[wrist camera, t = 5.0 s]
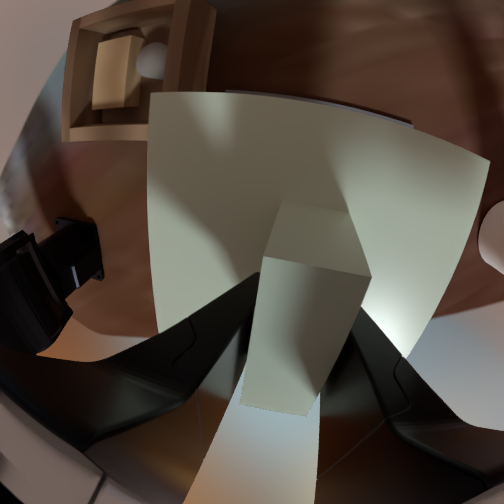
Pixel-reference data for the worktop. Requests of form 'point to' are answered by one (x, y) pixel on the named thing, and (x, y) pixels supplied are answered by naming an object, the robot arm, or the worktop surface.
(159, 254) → the lid
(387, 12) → the worktop surface
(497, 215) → the cosmetic bottle
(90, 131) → the crate
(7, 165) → the worktop surface
